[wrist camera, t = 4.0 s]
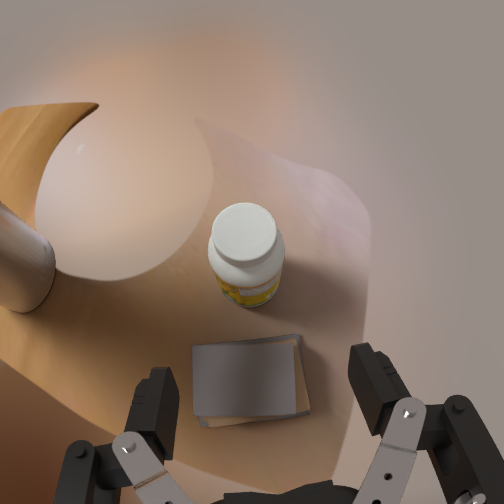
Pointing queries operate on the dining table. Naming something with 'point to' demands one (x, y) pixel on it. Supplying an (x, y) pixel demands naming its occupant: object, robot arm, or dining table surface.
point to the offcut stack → (249, 381)
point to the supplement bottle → (246, 254)
